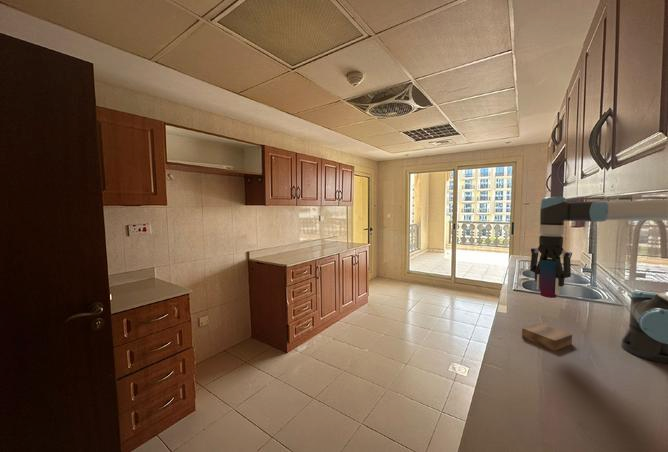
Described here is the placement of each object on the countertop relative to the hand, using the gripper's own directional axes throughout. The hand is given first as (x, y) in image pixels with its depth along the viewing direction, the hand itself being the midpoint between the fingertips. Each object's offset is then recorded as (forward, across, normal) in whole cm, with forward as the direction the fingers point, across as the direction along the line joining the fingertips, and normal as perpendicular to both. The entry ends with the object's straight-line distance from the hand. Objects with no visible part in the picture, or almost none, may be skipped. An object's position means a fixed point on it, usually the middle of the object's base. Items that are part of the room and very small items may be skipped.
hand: (548, 291), depth 110 cm
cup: (+2, 0, 0) cm, 2 cm away
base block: (+21, 0, 0) cm, 21 cm away
